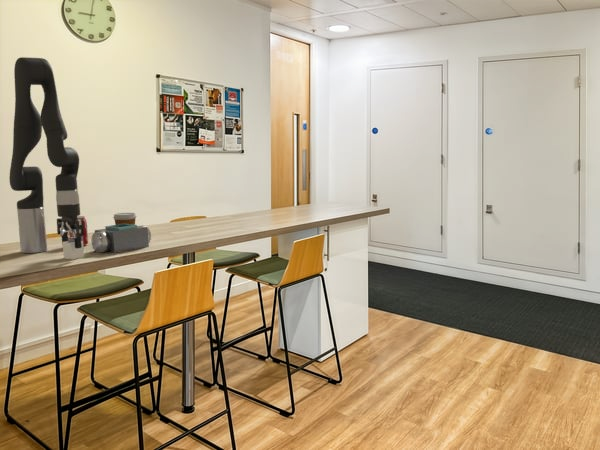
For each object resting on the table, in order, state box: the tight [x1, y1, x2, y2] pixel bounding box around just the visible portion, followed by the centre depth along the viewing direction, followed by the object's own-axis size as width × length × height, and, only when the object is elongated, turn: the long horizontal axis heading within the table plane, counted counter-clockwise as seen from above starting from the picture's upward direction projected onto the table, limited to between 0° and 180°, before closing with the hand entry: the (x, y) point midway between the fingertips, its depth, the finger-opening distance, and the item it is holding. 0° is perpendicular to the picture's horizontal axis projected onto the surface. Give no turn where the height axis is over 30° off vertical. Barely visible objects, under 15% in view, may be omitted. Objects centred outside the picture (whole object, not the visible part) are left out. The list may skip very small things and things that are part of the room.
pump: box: [62, 236, 85, 260], centre depth 187 cm, size 5×5×8 cm
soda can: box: [68, 215, 89, 247], centre depth 212 cm, size 7×7×12 cm
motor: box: [91, 224, 152, 254], centre depth 204 cm, size 12×22×9 cm, turn 145°
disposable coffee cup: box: [112, 212, 137, 225], centre depth 222 cm, size 10×10×12 cm
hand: (72, 247), depth 186 cm, fingers open, 8 cm apart
